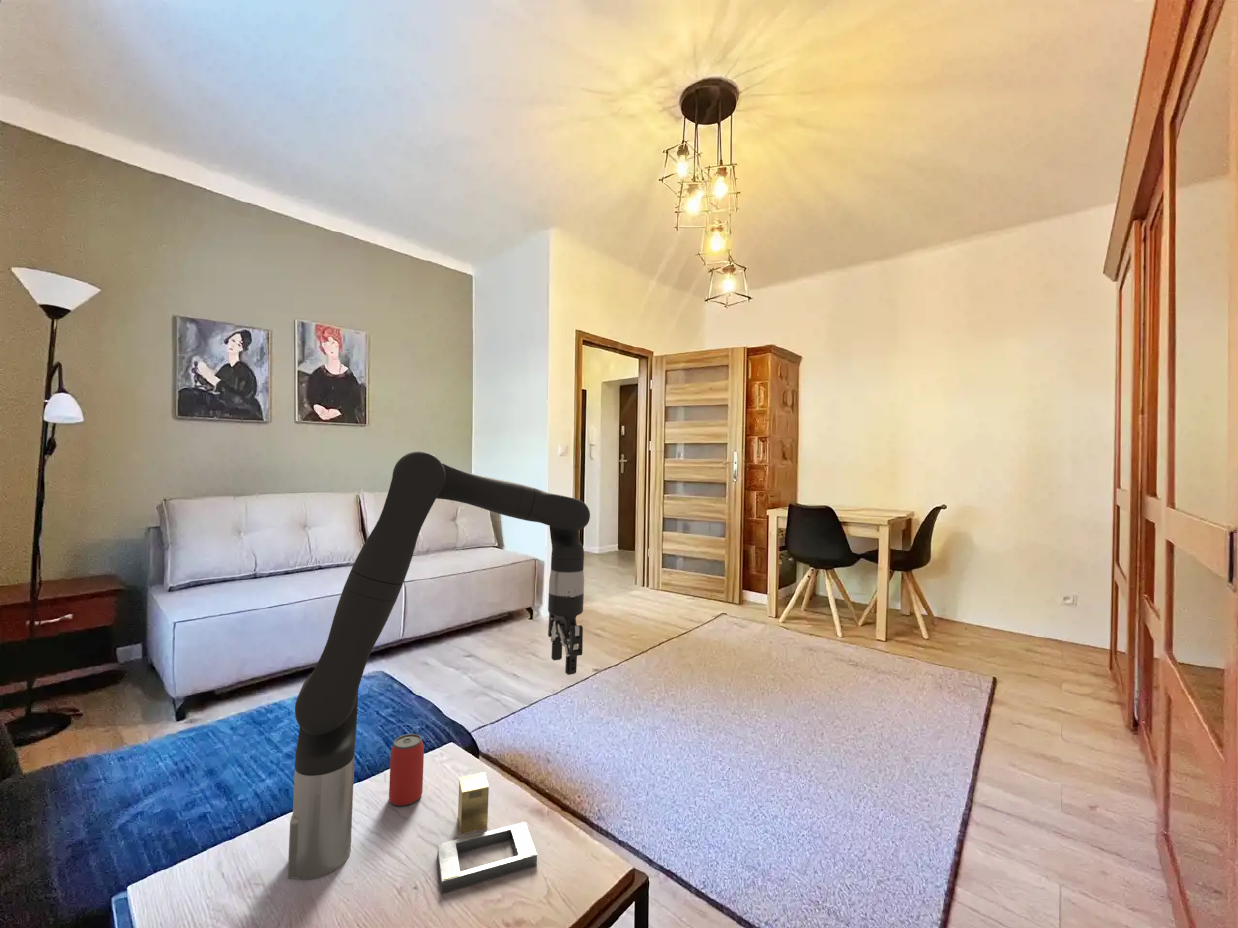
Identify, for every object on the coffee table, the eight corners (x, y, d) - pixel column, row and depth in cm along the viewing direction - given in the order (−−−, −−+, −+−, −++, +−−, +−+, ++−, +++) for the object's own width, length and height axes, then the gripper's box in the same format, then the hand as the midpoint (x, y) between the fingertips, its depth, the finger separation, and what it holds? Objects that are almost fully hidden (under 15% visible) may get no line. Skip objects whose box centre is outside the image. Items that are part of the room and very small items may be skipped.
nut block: (460, 834, 96) (462, 792, 97) (457, 817, 101) (459, 777, 101) (487, 827, 98) (488, 786, 99) (483, 811, 103) (484, 772, 103)
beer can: (418, 784, 111) (420, 729, 112) (425, 800, 106) (427, 742, 106) (386, 794, 108) (388, 737, 108) (391, 811, 102) (394, 751, 103)
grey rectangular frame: (441, 893, 83) (441, 880, 83) (437, 855, 91) (437, 843, 91) (536, 865, 89) (537, 853, 89) (524, 832, 97) (525, 821, 98)
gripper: (539, 584, 113) (536, 657, 113) (561, 599, 100) (558, 681, 100) (570, 582, 116) (567, 653, 116) (595, 596, 104) (593, 676, 103)
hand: (563, 666), depth 108 cm, fingers open, 8 cm apart
